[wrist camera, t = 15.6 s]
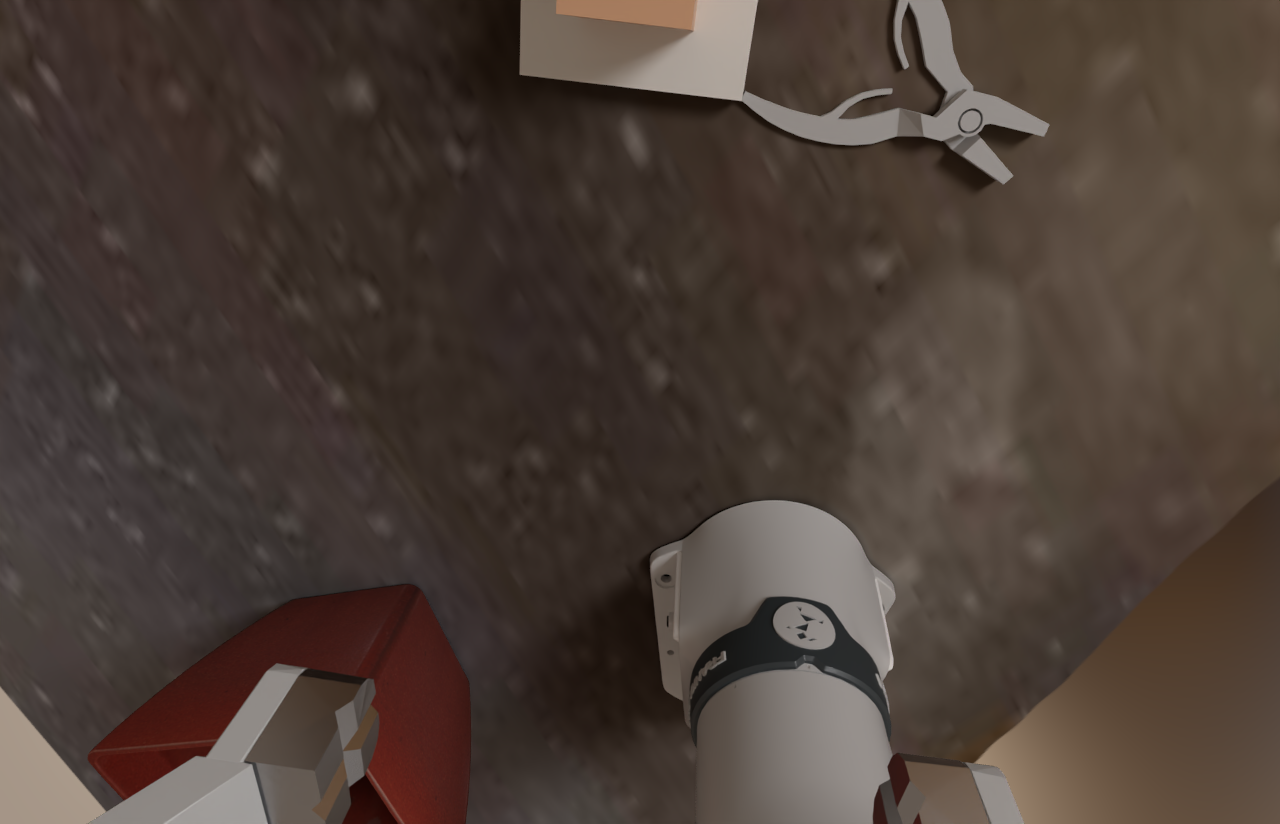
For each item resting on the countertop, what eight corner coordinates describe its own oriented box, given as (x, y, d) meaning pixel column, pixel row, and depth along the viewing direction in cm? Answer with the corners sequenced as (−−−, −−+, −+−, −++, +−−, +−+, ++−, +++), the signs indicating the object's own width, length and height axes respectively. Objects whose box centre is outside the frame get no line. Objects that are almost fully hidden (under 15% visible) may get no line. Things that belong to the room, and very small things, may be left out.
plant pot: (333, 725, 68) (228, 917, 53) (234, 576, 59) (76, 755, 44) (516, 706, 64) (458, 907, 49) (438, 544, 56) (340, 727, 41)
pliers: (846, -97, 33) (1098, 65, 35) (841, -91, 34) (1083, 64, 36) (739, 105, 37) (967, 237, 40) (738, 103, 39) (958, 230, 41)
